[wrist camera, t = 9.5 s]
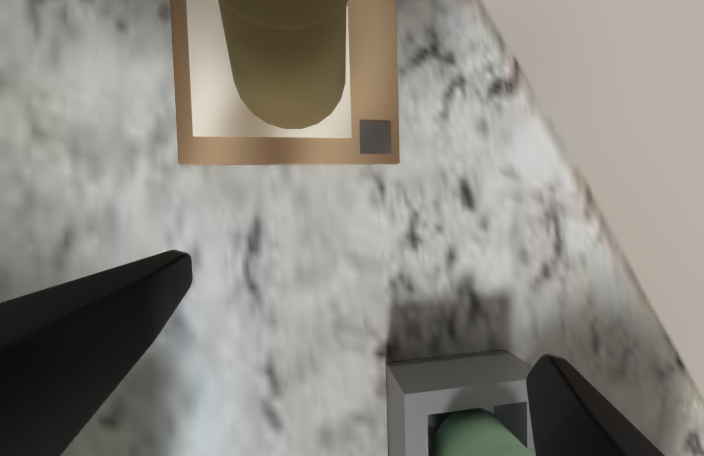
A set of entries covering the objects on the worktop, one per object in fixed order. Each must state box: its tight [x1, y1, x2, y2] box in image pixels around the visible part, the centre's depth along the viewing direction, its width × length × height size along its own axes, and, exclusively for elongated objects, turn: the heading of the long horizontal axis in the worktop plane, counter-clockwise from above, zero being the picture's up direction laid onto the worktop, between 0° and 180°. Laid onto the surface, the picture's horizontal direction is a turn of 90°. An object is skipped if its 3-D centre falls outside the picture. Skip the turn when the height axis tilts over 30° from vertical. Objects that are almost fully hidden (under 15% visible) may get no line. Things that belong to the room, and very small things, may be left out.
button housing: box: [386, 350, 536, 456], centre depth 18 cm, size 8×8×4 cm
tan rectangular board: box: [170, 0, 400, 165], centre depth 17 cm, size 12×10×1 cm
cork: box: [218, 0, 348, 129], centre depth 12 cm, size 6×6×11 cm
